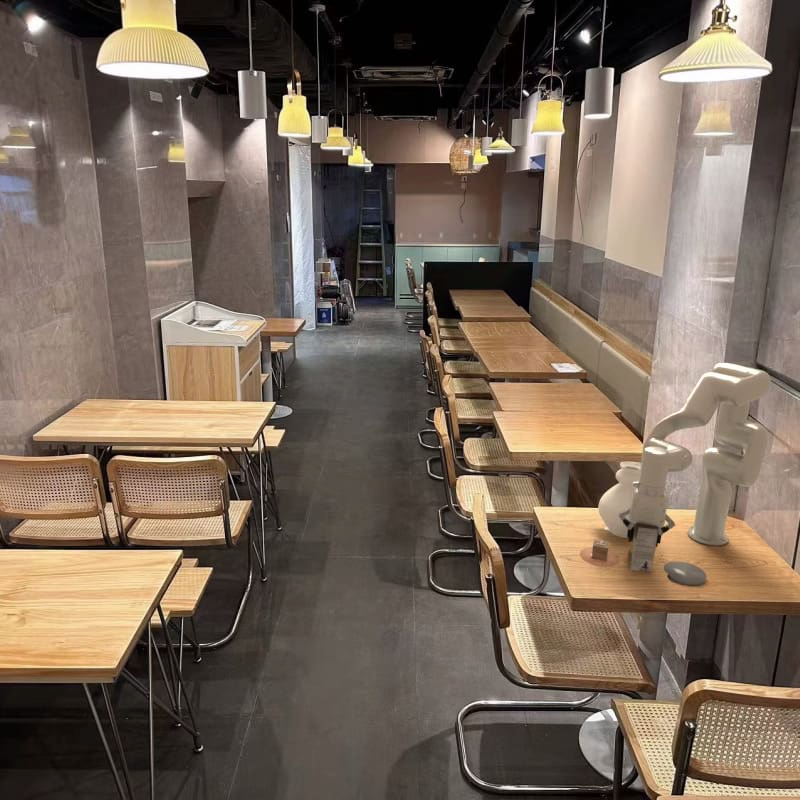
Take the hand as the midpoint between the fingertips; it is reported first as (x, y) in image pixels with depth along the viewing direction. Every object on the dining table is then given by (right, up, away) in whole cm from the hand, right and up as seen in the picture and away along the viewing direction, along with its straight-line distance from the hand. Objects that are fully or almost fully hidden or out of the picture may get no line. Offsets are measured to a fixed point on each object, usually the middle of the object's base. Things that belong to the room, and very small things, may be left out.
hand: (643, 542), depth 211 cm
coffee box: (0, -9, +3) cm, 9 cm away
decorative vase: (+1, -3, +23) cm, 24 cm away
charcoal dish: (+12, -10, -1) cm, 16 cm away
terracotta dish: (-12, -7, +6) cm, 15 cm away
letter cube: (-12, -6, +6) cm, 14 cm away
